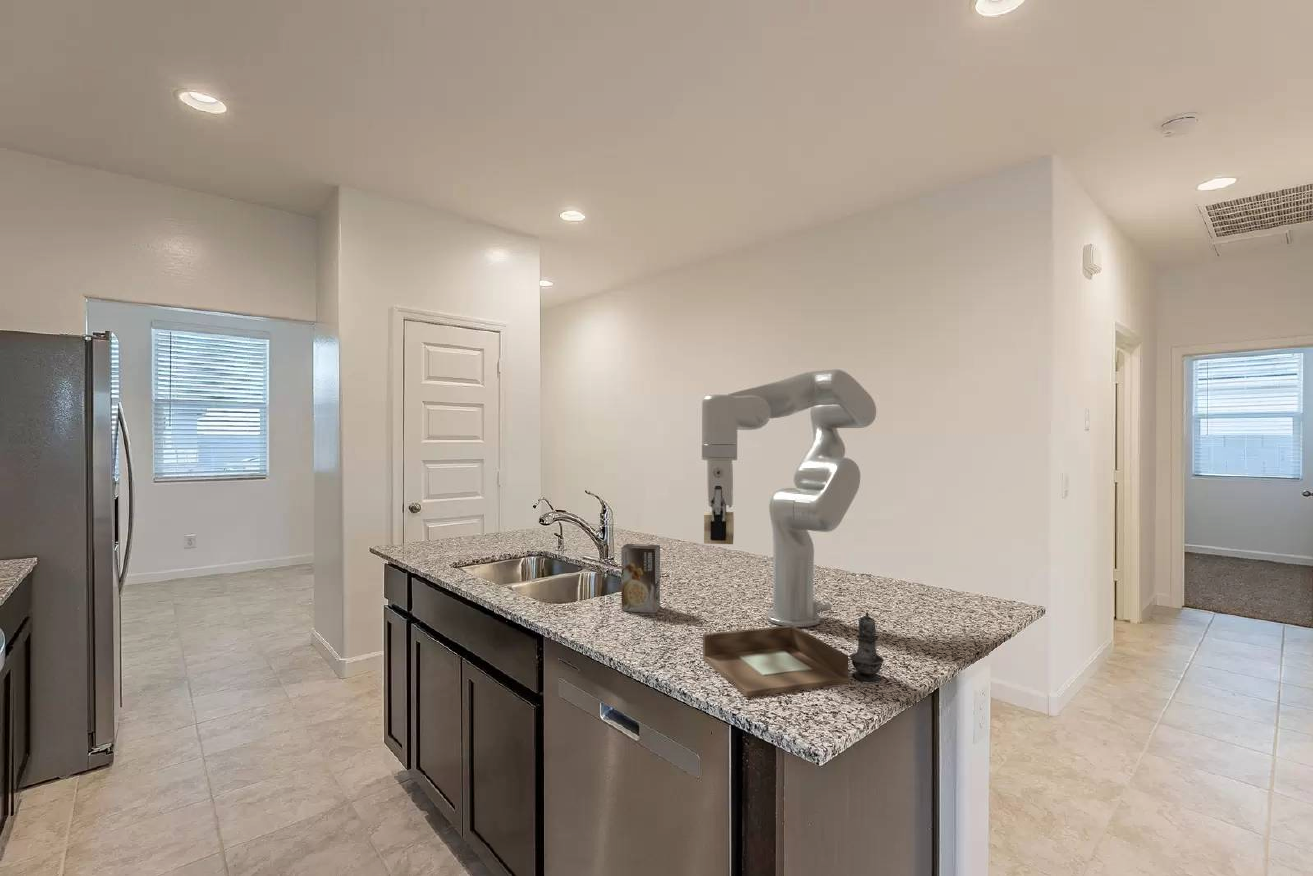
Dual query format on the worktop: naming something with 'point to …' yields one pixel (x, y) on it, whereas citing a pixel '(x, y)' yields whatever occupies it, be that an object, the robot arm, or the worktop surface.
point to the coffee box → (640, 578)
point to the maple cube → (729, 528)
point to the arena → (774, 660)
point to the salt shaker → (866, 653)
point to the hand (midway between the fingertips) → (719, 537)
